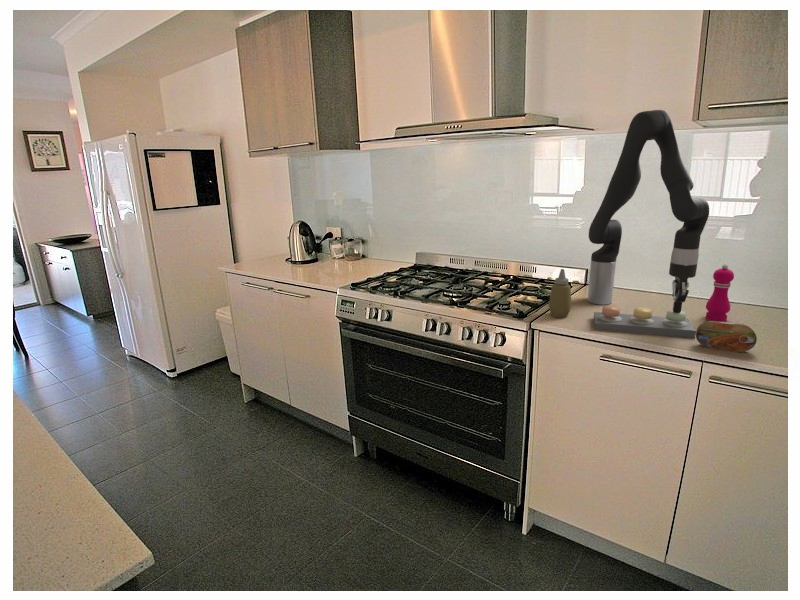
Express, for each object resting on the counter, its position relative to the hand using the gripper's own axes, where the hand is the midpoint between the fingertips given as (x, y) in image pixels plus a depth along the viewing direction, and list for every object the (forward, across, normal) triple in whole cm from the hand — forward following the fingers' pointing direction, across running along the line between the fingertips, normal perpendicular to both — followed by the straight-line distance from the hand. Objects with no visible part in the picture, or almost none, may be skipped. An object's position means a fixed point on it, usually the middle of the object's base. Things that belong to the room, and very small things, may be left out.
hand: (676, 312), depth 154 cm
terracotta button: (+2, 0, -20) cm, 20 cm away
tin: (+7, +13, +11) cm, 18 cm away
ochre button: (+3, 0, -10) cm, 10 cm away
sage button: (+3, 0, 0) cm, 3 cm away
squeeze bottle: (+7, -6, -37) cm, 38 cm away
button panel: (+6, 0, -10) cm, 12 cm away
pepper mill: (+7, -16, +16) cm, 24 cm away
